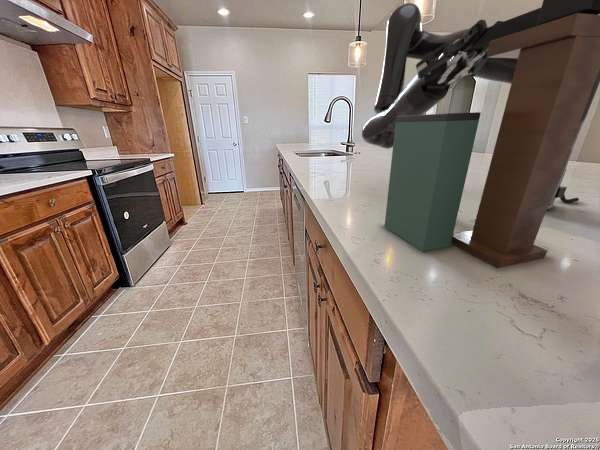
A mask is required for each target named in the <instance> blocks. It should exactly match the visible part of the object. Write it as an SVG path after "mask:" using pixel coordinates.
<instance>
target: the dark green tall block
mask: <svg viewBox="0 0 600 450" xmlns="http://www.w3.org/2000/svg"><path fill="white" fill-rule="evenodd" d="M481 114H482V112H479V111H477V112H476V111H475V112H450V113H449V112H447V113H433V114H431V113H430V114H424V115H412V116H396V124H395V133H394V142H393V147H392V151H391V152H392V153H391V162H390V172H389V181H388V192H387V199H386V209H385V218H384V228H386V230H389V231H390V232H392V233H393V234H395V235H396V236H398V237H400V238H401V239H402V240H404V241H406V242H407V243H409V244H410V245H412V246H413V247H415V248H416V249H418V250H419V251H421V252H429V251H434V250H439V249H445V248H449V247H451V246H452V244H451V241H452V237H453V233H455V226H456V225H457V224H456V223H457V218H458V215H459V210H460V206H461V203H462V197H463V193H464V190H465V189H464V188H465V184H466V181H467V176H468V172H469V168H470V167H469V166H470V162H471V158H472V154H473V149H474V145H475V140H476V136H477V132H478V127H479V123H480V117H481Z"/></svg>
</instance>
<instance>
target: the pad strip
mask: <svg viewBox="0 0 600 450" xmlns="http://www.w3.org/2000/svg"><path fill="white" fill-rule="evenodd" d="M576 13H582V14H593V15H600V0H542V3H541V6H540V7H538V8H536V9H533V10H530V11H528V12H525V13H523V14H520V15H517V16H514V17H512V18H509V19H507V20H503V22H501V23H498V24H496V25H494V24H492V25H491V26H487V32H486V33H485V34H484V35H483V36H482V37H481V38H480V39H479V40H478V41H477V42H476V43H475V44H474V45H473V46H472V47H471V48H470V49H469V50H468V51H464V52H472V51H476V50H479V49H482V48H486V47H489V42H490V41H492V40H495V39H498V38H502V37H505V36H508V35H511V34H514V33H517V32H520V31H523V30H526V29H529V28H532V27H536V26H539V25H542V24H545V23H548V22H551V21H554V20H557V19H560V18H563V17H566V16H570V15H573V14H576ZM461 38H462V37H461ZM461 38H459V39H461Z"/></svg>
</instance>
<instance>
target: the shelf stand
mask: <svg viewBox="0 0 600 450" xmlns="http://www.w3.org/2000/svg"><path fill="white" fill-rule="evenodd" d="M486 57H489V58H518V60H517V64H516V68H515V72H514V76H513V79H512V83H511V84H510V87H509V92H508V95H507V99H506V103H505V105H504V111H503V115H502V118H501V121H500V125H499V129H498V133H497V137H496V141H495V145H494V148H493V152H492V156H491V160H490V163H489V167H488V170H487V175H486V179H485V183H484V186H483V190H482V194H481V198H480V201H479V205H478V206H479V207H478V209H477V214H476V217H475V221H474V224H473V229H471V230H466V231H459V232H453V237H452V241H451V245H452V246H455V247H457V248H458V249H461V250H462V251H464V252H466V253H468V254H470V255H471V256H474V257H475V258H477V259H479V260H481V261H483V262H485V263H486V264H489V265H490V266H492V267H494V268H496V269H500V268H505V267H510V266H514V265H518V264H523V263H527V262H532V261H536V260H541V259H545V258H546V256H547V253H548V249H546V248H543V247H541V246H538V245H536V244H535V241H536V239H537V236H538V233H539V230H540V228H541V226H542V222H543V221H544V218H545V215H546V212H547V211H548V210H547V207H548V204H549V202H550V199H551V197H552V194H553V191H554V189H555V186H556V183H557V181H558V178H559V175H560V173H561V170H562V167H563V165H564V162H565V160H566V157H567V154H568V152H569V149H570V146H571V144H572V141H573V138H574V136H575V133H576V130H577V128H578V125H579V122H580V120H581V117H582V115H583V112H584V109H585V107H586V104H587V101H588V99H589V96H590V93H591V91H592V88H593V85H594V83H595V80H596V78H597V75H598V72H599V70H600V14H599V15H593V14H582V13H576V14H573V15H570V16H566V17H563V18H560V19H557V20H554V21H551V22H548V23H545V24H542V25H539V26H536V27H532V28H529V29H526V30H523V31H520V32H517V33H514V34H511V35H508V36H505V37H502V38H498V39H495V40H492V41H490V42H489V47H488V52H487V56H486Z"/></svg>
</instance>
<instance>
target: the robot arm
mask: <svg viewBox="0 0 600 450" xmlns="http://www.w3.org/2000/svg"><path fill="white" fill-rule="evenodd" d="M422 21H423V20H422V13H421V10H420V7H419V6H418V5H417V4H416V3H412V2H406V3H403V4H401V5H399V6H398V7H396V8H395V9H394V10H393V12H392V13H391V14H390V16H389V18H388V20H387V24H386V37H385V49H384V57H383V58H384V59H383V64H382V70H381V76H380V81H379V84H378V88H377V93H376V98H375V101H374V106H373V111H374V113H375V114H374V115H373V116H371V117H370V118H368V120H367V121H366V122H365V123H364V125H363V126H362V129H361V138H362V140H363V142H365V143H366V144H369V145H372V146H376V147H378V148H382V149H385V150H390V149H393V142H394V133H395V124H396V116H412V115H426V113H428V111H430V110H431V109H433V108H434V107H435V106H436V105H438V103H440V102H441V101H442V100H443V99H445V97H446V96H447V95H448V93H449V89H450V87H451V86H452V85H453V84H455V83H456V82H458V81H459V80H460V79H461V78H462V77H466V76H468V78H469V79H472V78H474V77H475V78H478V79H483V80H488V81H494V82H498V83H499V82H500V83H505V84H509V85H511V83H512V79H513V76H514V72H515V68H516V64H517V60H518V58H489V57H486V56H487V52H488V47H486V48H482V49H479V50H476V51H472V52H464V51H468V50H469V49H470V48H471V47H472V46H473V45H474V44H475V43H476V42H477V41H478V40H479V39H480V38H481V37H482V36H483V35H484V34H485V33H486V32H487V28H488V25H487V21H486V19H479V20H478V21H476V23H475V24H473V25H472V26H471V27H468V28H463V29H460V30H456V31H454V32H451V33H447V34H436V33H432V32H428V31H426V30H425V29H423V22H422ZM501 22H504V20H497V21H495V23H493V25H496V24H498V23H501ZM461 37H462V38H461ZM459 38H461V39H459ZM407 59H413V60H420V61H418V62H417V63H416V64H415V68H416V69H415V70H416V73H417V74H416V75H415V76H414V77H413V78H412V79H411V80H410V81H409V82H408V84H407V85H406V86H405V80H406V69H407ZM599 85H600V70H599V72H598V75H597V78H596V80H595V83H594V85H593V88H592V91H591V93H590V96H589V99H588V101H587V104H586V107H585V109H584V112H583V115H582V117H581V120H580V122H579V125H578V128H577V130H576V133H575V136H574V138H573V141H572V144H571V146H570V149H569V152H568V154H567V157H566V160H565V162H564V165H563V167H562V170H561V173H560V175H559V178H558V181H557V183H556V186H555V189H554V191H553V194H552V197H551V199H550V202H549V204H548V207H547V210H546V211H548V210H551V209H552V207H553V205H554V203H555V200H556V199H559V200H560V201H561V202H562V203H564V204H570V203H571V204H572V203H575V202H578V201H579V200H580V198H579V197H573V198H569V199H568V198H566V195H565V193H566V191H567V189H568V186H562V182H563V180H564V177H565V175H566V171H567V167H568V164H569V161H570V158H571V156H572V154H573V151H574V148H575V145H576V142H577V140H578V138H579V135H580V133H581V130H582V127H583V126H584V123H585V121H586V118H587V117H588V114H589V111H590V108H591V106H592V103H593V101H594V98H595V96H596V94H597V90H598V88H599Z"/></svg>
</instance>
